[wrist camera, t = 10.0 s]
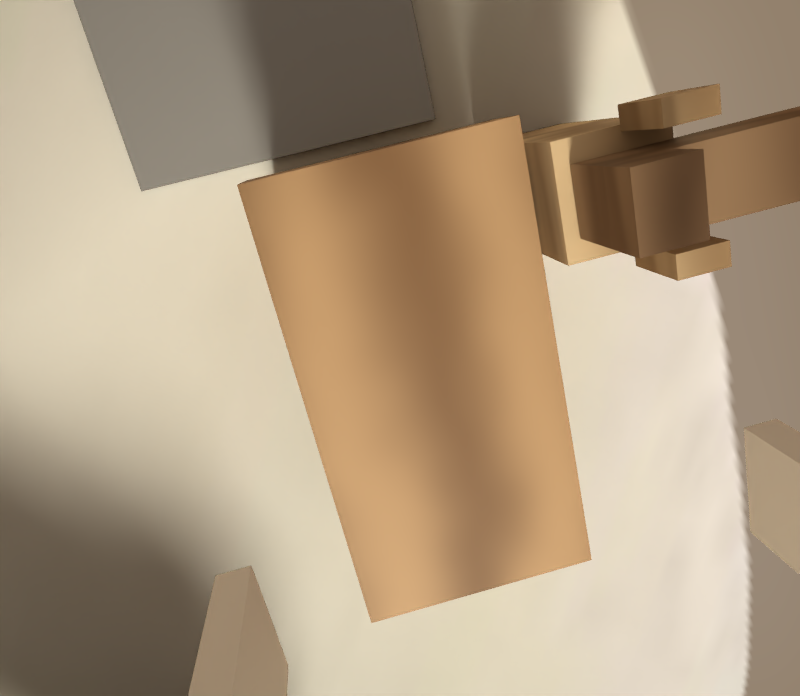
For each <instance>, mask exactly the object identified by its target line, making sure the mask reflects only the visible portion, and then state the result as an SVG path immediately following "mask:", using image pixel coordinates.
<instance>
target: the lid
mask: <svg viewBox="0 0 800 696" xmlns="http://www.w3.org/2000/svg"><path fill="white" fill-rule="evenodd" d="M237 186H238V189H239V193H240V196H241V199H242V202H243V206H244V209H245V212H246V215H247V219H248V222H249V225H250V228H251V232H252V235H253V238H254V241H255V245H256V248H257V251H258V254H259V258H260V261H261V264H262V267H263V271H264V274H265V277H266V281H267V284H268V287H269V290H270V294H271V297H272V300H273V303H274V307H275V310H276V313H277V316H278V320H279V323H280V326H281V329H282V333H283V336H284V339H285V342H286V346H287V349H288V352H289V355H290V359H291V362H292V365H293V368H294V372H295V375H296V378H297V381H298V385H299V388H300V391H301V395H302V398H303V401H304V404H305V408H306V411H307V414H308V417H309V421H310V424H311V427H312V430H313V434H314V437H315V440H316V443H317V447H318V450H319V453H320V456H321V460H322V463H323V466H324V469H325V473H326V476H327V479H328V482H329V486H330V489H331V492H332V496H333V499H334V502H335V505H336V509H337V512H338V515H339V518H340V522H341V525H342V528H343V531H344V535H345V538H346V541H347V544H348V548H349V551H350V554H351V557H352V561H353V564H354V567H355V570H356V574H357V577H358V580H359V583H360V587H361V590H362V593H363V597H364V600H365V603H366V606H367V610H368V613H369V616H370V619H371V623H373V622H377V621H380V620H384V619H387V618H391V617H394V616H398V615H401V614H405V613H408V612H412V611H415V610H418V609H422V608H425V607H429V606H432V605H436V604H439V603H443V602H446V601H450V600H453V599H457V598H460V597H464V596H467V595H471V594H474V593H478V592H481V591H485V590H488V589H492V588H495V587H499V586H502V585H505V584H509V583H512V582H516V581H519V580H523V579H526V578H530V577H533V576H537V575H540V574H544V573H547V572H551V571H554V570H558V569H561V568H565V567H568V566H572V565H575V564H579V563H582V562H586V561H589V560H591V554H590V547H589V541H588V535H587V529H586V523H585V517H584V510H583V504H582V498H581V492H580V486H579V480H578V473H577V467H576V461H575V455H574V449H573V443H572V437H571V430H570V424H569V418H568V412H567V406H566V400H565V393H564V387H563V381H562V375H561V369H560V363H559V356H558V350H557V344H556V338H555V332H554V326H553V319H552V313H551V307H550V301H549V295H548V289H547V283H546V276H545V270H544V264H543V258H542V252H541V246H540V239H539V233H538V227H537V221H536V215H535V209H534V202H533V196H532V190H531V184H530V178H529V172H528V165H527V159H526V153H525V147H524V141H523V135H522V128H521V122H520V116H519V115H516V116H510V117H504V118H499V119H493V120H489V121H485V122H481V123H477V124H473V125H469V126H465V127H461V128H457V129H453V130H449V131H445V132H441V133H437V134H433V135H428V136H424V137H420V138H416V139H412V140H408V141H404V142H400V143H396V144H392V145H388V146H384V147H380V148H376V149H372V150H368V151H364V152H360V153H356V154H352V155H348V156H344V157H340V158H336V159H332V160H328V161H324V162H319V163H315V164H311V165H307V166H303V167H299V168H295V169H291V170H287V171H283V172H279V173H275V174H271V175H267V176H263V177H259V178H255V179H251V180H247V181H245V182H242V183H240V184H238V185H237Z"/></svg>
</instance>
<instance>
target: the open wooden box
mask: <svg viewBox="0 0 800 696" xmlns="http://www.w3.org/2000/svg"><path fill="white" fill-rule="evenodd" d="M618 112H619V118H609V119H600V120H591V121H582V122H572V123H563V124H558V125H554V126H550V127H546V128H542V129H538V130H534V131H530V132H526V133H522V135H523V141H524V147H525V153H526V159H527V165H528V172H529V178H530V184H531V190H532V196H533V202H534V209H535V215H536V221H537V227H538V233H539V239H540V246H541V252H542V254H544V255H546V256H548V257H550V258H553V259H555V260H557V261H559V262H562V263H564V264H566V265H568V266H569V265H573V264H577V263H581V262H584V261H588V260H592V259H596V258H600V257H604V256H607V255H611V254H615V253H619V251H616V250H613V249H610V248H607V247H604V246H601V245H598V244H595V243H592V242H589V241H586V240H583V239H581V238H580V231H579V224H578V217H577V210H576V203H575V196H574V189H573V181H572V174H571V167H570V164H574V163H578V162H582V161H586V160H590V159H593V158H597V157H601V156H605V155H609V154H613V153H617V152H621V151H625V150H629V149H633V148H637V147H641V146H645V145H649V144H653V143H657V142H661V141H665V140H669V139H673V127H672V126H676V125H679V124H684V123H687V122H691V121H696V120H699V119H703V118H707V117H712V116H715V115H719V114H721V99H720V84H715V85H708V86H702V87H696V88H690V89H684V90H678V91H672V92H667V93H663V94H659V95H655V96H651V97H647V98H643V99H639V100H635V101H631V102H627V103H623V104H619V105H618ZM730 251H731V250H730V240H726V239H721V238H716V237H711V236H710V240H708V241H704V242H701V243H697V244H693V245H689V246H685V247H682V248H678V249H674V250H670V251H666V252H663V253H659V254H655V255H651V256H647V257H644V258H637V257H635V260H636V266H638V267H641V268H644V269H647V270H649V271H652V272H655V273H658V274H661V275H663V276H666V277H669V278H672V279H675V280H677V281H679V280H683V279H686V278H690V277H694V276H698V275H701V274H705V273H709V272H713V271H716V270H720V269H724V268H728V267H731V266H732V265H731V252H730Z"/></svg>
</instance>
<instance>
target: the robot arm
mask: <svg viewBox="0 0 800 696" xmlns="http://www.w3.org/2000/svg"><path fill="white" fill-rule="evenodd" d="M744 440H745V455H746V470H747V485H748V502H749V516H750V532H751V533H752V534H753V535H754V536H755V537H757V538H758V539H759V540H760V541H761V542H763V543H764V544H765V545H766V546H767V547H768V548H769V549H770V550H772V551H773V552H774V553H775V554H776V555H777V556H779V557H780V558H781V559H782V560H783V561H784V562H786V564H788V565H789V566H790V567H791V568H792V569H793V570H794V571H796V572H797V573H798V574H799V575H800V432H798V431H797V430H795V429H793V428H792V427H790V426H788V425H786V424H785V423H783V422H781V421H779V420H778V419H773V420H770V421H766V422H762V423H759V424H755V425H752V426H748V427H745V428H744ZM287 681H288V664H287V661H286V658H285V656H284V653H283V650H282V647H281V645H280V642H279V639H278V637H277V634H276V631H275V629H274V626H273V623H272V620H271V618H270V615H269V612H268V610H267V607H266V604H265V601H264V599H263V596H262V593H261V591H260V588H259V585H258V582H257V580H256V577H255V574H254V572H253V569H252V566H248V567H244V568H241V569H237V570H233V571H230V572H226V573H223V574H219V575H216V576H215V580H214V584H213V589H212V593H211V598H210V602H209V606H208V611H207V615H206V619H205V624H204V628H203V632H202V637H201V641H200V645H199V650H198V654H197V658H196V663H195V667H194V671H193V676H192V680H191V685H190V689H189V693H188V696H287Z"/></svg>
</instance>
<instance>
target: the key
mask: <svg viewBox="0 0 800 696" xmlns="http://www.w3.org/2000/svg"><path fill="white" fill-rule="evenodd" d="M570 167H571V174H572V181H573V189H574V196H575V203H576V210H577V217H578V224H579V231H580V238H581V239H583V240H586V241H589V242H592V243H595V244H598V245H601V246H604V247H607V248H610V249H613V250H616V251H619V252H622V253H625V254H628V255H631V256H634V257H637V258H644V257H647V256H651V255H655V254H659V253H663V252H666V251H670V250H674V249H678V248H682V247H685V246H689V245H693V244H697V243H701V242H704V241H708V240H710V230H709V224H713V223H717V222H721V221H725V220H729V219H732V218H736V217H740V216H744V215H747V214H752V213H755V212H759V211H763V210H767V209H771V208H775V207H778V206H782V205H786V204H790V203H794V202H797V201H800V106H799V107H795V108H791V109H787V110H783V111H779V112H775V113H771V114H767V115H763V116H759V117H756V118H752V119H748V120H744V121H740V122H736V123H732V124H728V125H724V126H720V127H717V128H712V129H709V130H704V131H701V132H696V133H692V134H689V135H685V136H681V137H676V138H673V139H669V140H665V141H661V142H657V143H653V144H649V145H645V146H641V147H637V148H633V149H629V150H625V151H621V152H617V153H613V154H609V155H605V156H601V157H597V158H593V159H590V160H586V161H582V162H578V163H574V164H570Z"/></svg>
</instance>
